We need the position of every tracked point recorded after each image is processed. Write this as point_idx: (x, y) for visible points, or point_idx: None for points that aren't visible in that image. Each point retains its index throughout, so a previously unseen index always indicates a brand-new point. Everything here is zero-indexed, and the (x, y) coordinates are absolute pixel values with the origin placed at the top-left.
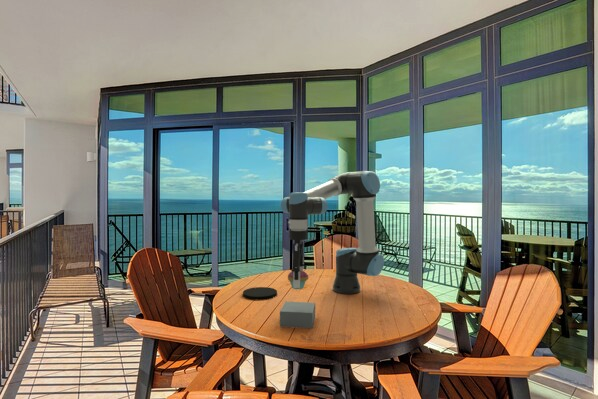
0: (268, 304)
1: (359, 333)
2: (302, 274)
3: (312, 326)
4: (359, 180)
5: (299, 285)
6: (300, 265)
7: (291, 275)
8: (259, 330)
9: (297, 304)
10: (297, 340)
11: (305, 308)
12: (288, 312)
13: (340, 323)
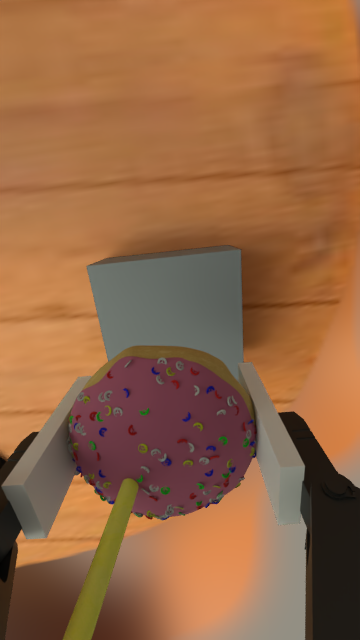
0: None
1: (251, 9)
2: (215, 415)
3: (228, 245)
4: None
5: (257, 374)
6: (3, 523)
7: (233, 488)
8: (272, 399)
9: (140, 340)
10: (340, 273)
11: (185, 294)
12: (242, 351)
13: (150, 130)
